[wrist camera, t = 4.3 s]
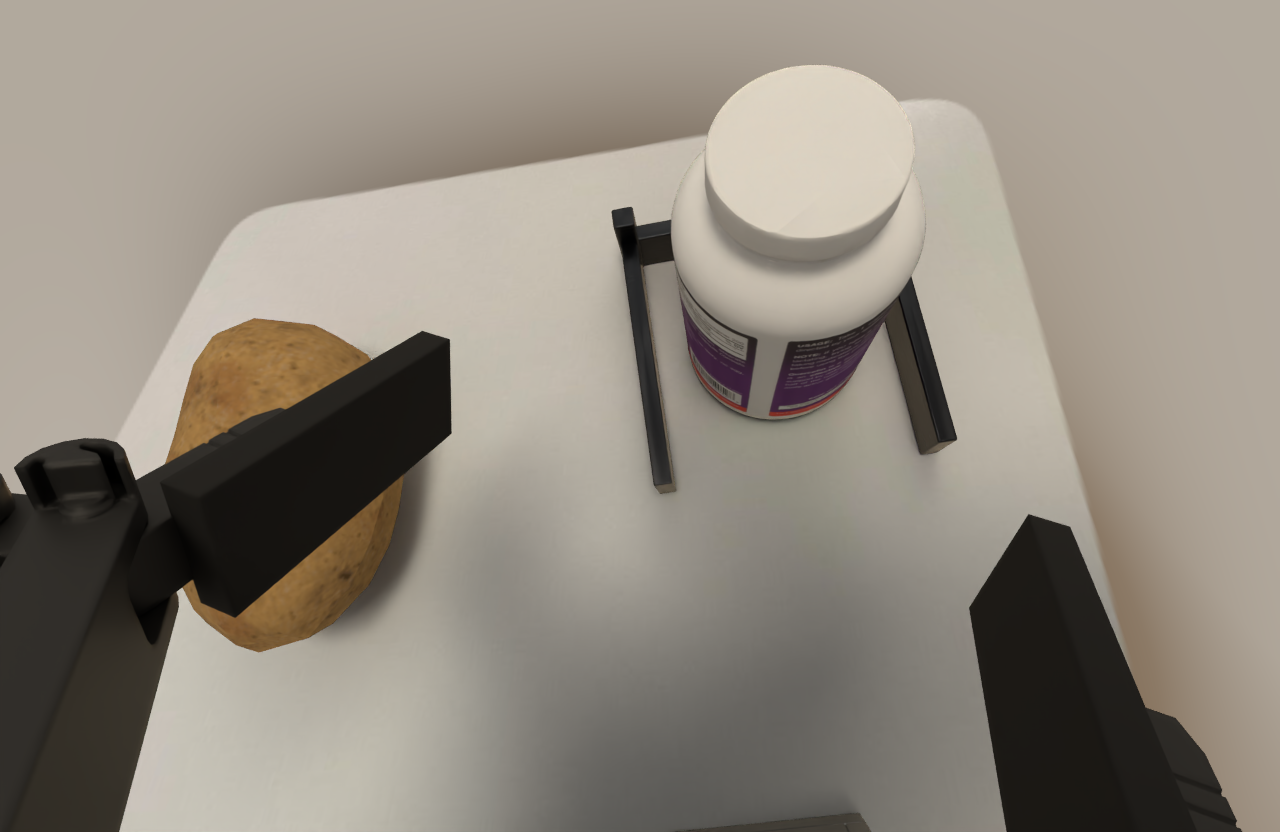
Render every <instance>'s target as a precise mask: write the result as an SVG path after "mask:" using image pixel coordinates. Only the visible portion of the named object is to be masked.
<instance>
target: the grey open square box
mask: <svg viewBox="0 0 1280 832" xmlns="http://www.w3.org/2000/svg"><path fill="white" fill-rule="evenodd" d="M677 832H871V830H870V829H869V827H868V825H867V824H866V822H865V821H864V819H863V818H862V816H861V814H860V813H853V814H843V815H834V816H824V817H814V818H804V819H794V820H785V821H775V822H765V823H755V824H745V825H735V826H726V827H716V828H706V829H696V830H686V831H677Z"/></svg>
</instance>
